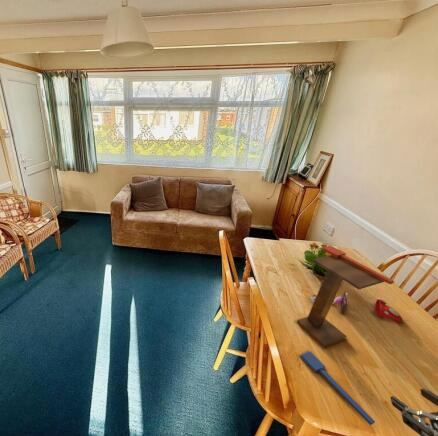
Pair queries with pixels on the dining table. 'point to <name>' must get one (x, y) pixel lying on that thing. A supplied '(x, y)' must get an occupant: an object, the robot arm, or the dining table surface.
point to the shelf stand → (333, 297)
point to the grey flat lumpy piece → (313, 298)
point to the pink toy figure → (341, 301)
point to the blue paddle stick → (334, 383)
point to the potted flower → (310, 256)
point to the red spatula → (355, 263)
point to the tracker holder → (386, 311)
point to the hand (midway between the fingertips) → (407, 395)
